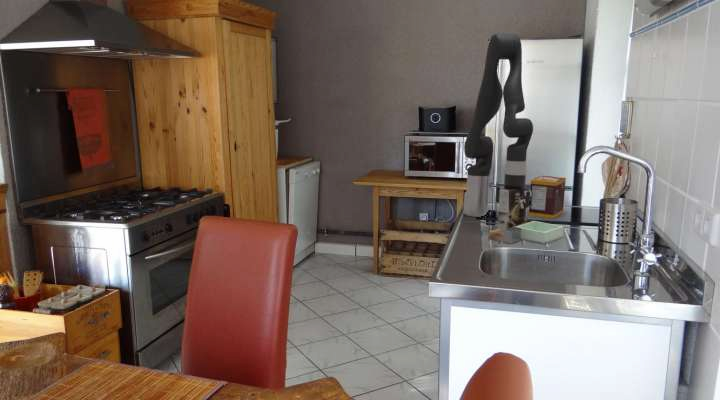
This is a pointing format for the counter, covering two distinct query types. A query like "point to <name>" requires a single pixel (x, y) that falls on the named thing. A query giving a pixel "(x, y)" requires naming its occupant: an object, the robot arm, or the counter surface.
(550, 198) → the supplement box
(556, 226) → the green tray
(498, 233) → the brown square block
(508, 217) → the coffee box
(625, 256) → the counter surface
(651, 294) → the counter surface
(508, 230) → the block
